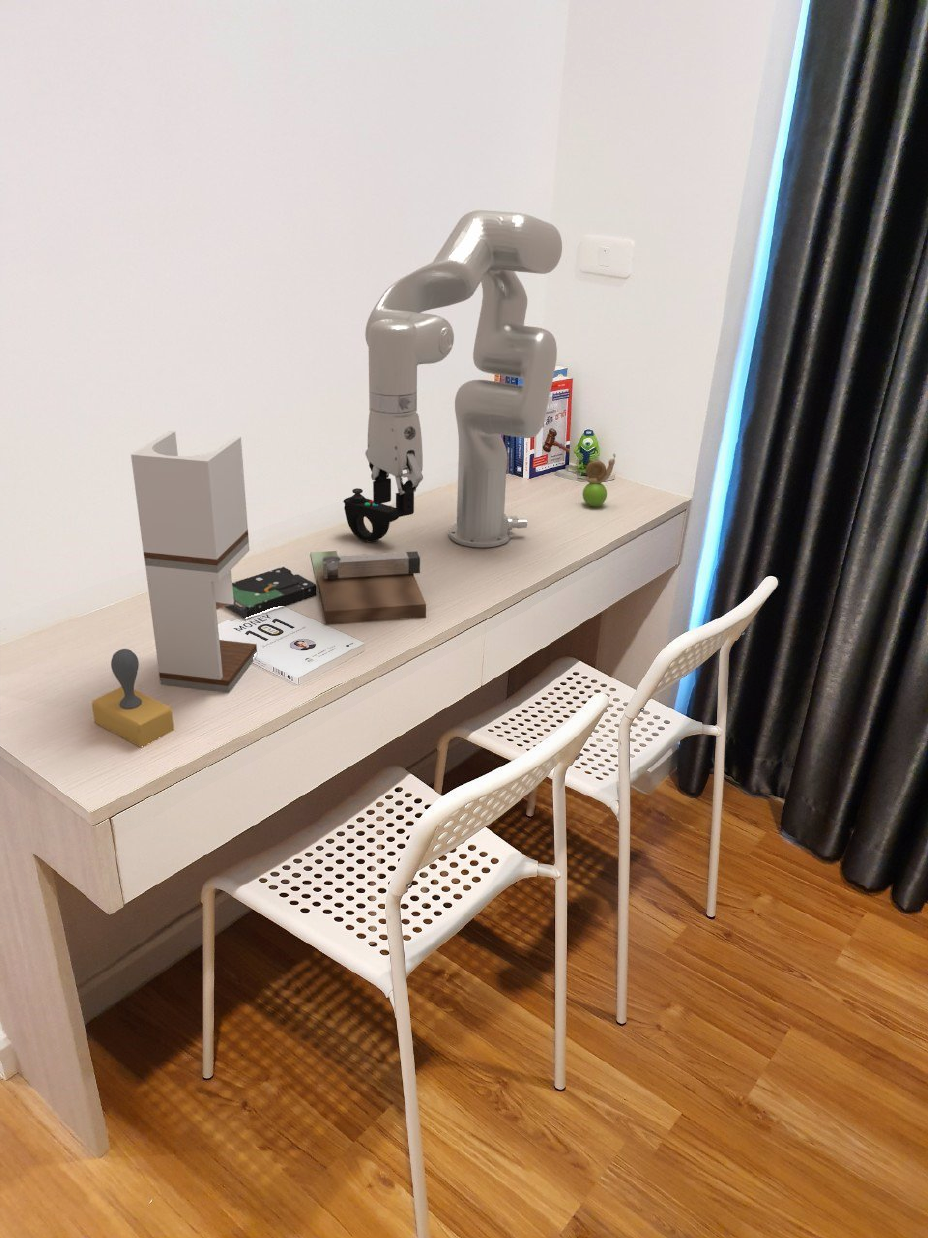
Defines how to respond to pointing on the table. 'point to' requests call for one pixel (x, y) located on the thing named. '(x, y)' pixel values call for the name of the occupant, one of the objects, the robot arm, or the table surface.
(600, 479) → the snail figurine
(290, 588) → the disk drive
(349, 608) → the brown flat wooden board
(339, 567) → the folding leg
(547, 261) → the robot arm
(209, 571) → the gray dispenser tower
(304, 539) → the table surface
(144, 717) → the rubber stamp
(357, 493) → the controller
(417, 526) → the table surface
